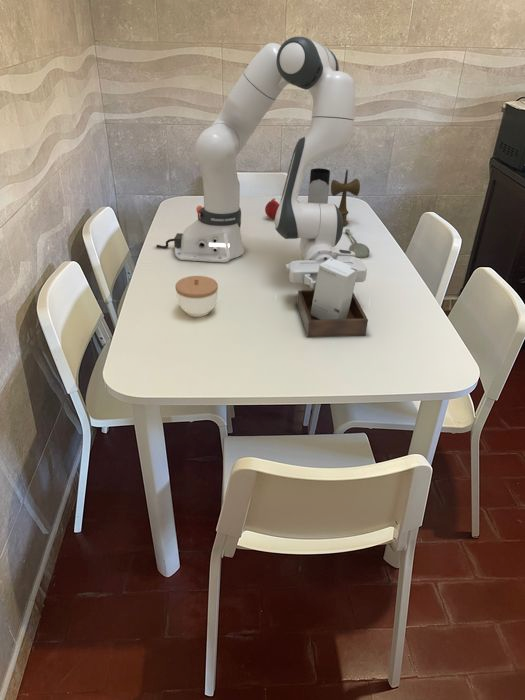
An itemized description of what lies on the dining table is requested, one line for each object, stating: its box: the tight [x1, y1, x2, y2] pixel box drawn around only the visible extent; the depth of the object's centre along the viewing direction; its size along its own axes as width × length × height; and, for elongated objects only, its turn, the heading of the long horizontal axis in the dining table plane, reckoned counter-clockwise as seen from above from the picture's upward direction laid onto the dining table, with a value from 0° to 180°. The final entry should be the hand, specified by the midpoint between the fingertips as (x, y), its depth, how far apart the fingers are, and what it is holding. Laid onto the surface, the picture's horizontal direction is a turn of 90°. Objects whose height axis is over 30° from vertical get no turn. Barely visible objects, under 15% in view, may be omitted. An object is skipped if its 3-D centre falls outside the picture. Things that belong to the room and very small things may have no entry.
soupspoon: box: [344, 228, 371, 259], centre depth 180 cm, size 22×3×7 cm
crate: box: [296, 289, 369, 338], centre depth 136 cm, size 15×17×4 cm
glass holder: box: [307, 167, 331, 204], centre depth 209 cm, size 9×14×15 cm, turn 170°
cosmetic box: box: [310, 258, 358, 320], centre depth 132 cm, size 8×6×15 cm
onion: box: [264, 197, 280, 220], centre depth 198 cm, size 6×6×8 cm
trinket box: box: [175, 275, 219, 318], centre depth 136 cm, size 11×11×9 cm
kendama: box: [330, 169, 361, 227], centre depth 192 cm, size 6×10×20 cm, turn 101°
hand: (333, 285), depth 133 cm, fingers open, 8 cm apart
